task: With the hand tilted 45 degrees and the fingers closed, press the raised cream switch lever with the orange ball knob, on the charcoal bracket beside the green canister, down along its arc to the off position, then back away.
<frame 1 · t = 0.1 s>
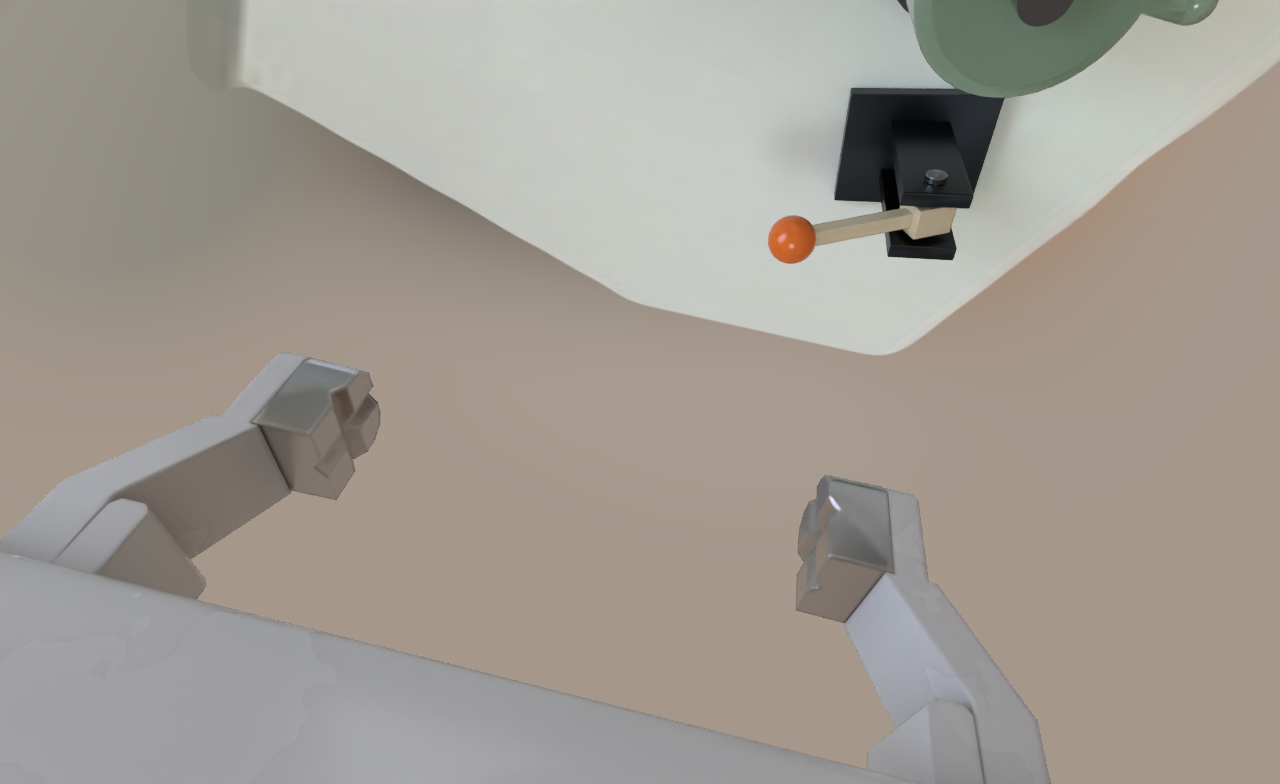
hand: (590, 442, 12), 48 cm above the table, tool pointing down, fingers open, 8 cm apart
switch lever: (858, 227, 45), point 13 cm above the table, hinge at 25.0°
switch bracket: (911, 145, 53), on the table
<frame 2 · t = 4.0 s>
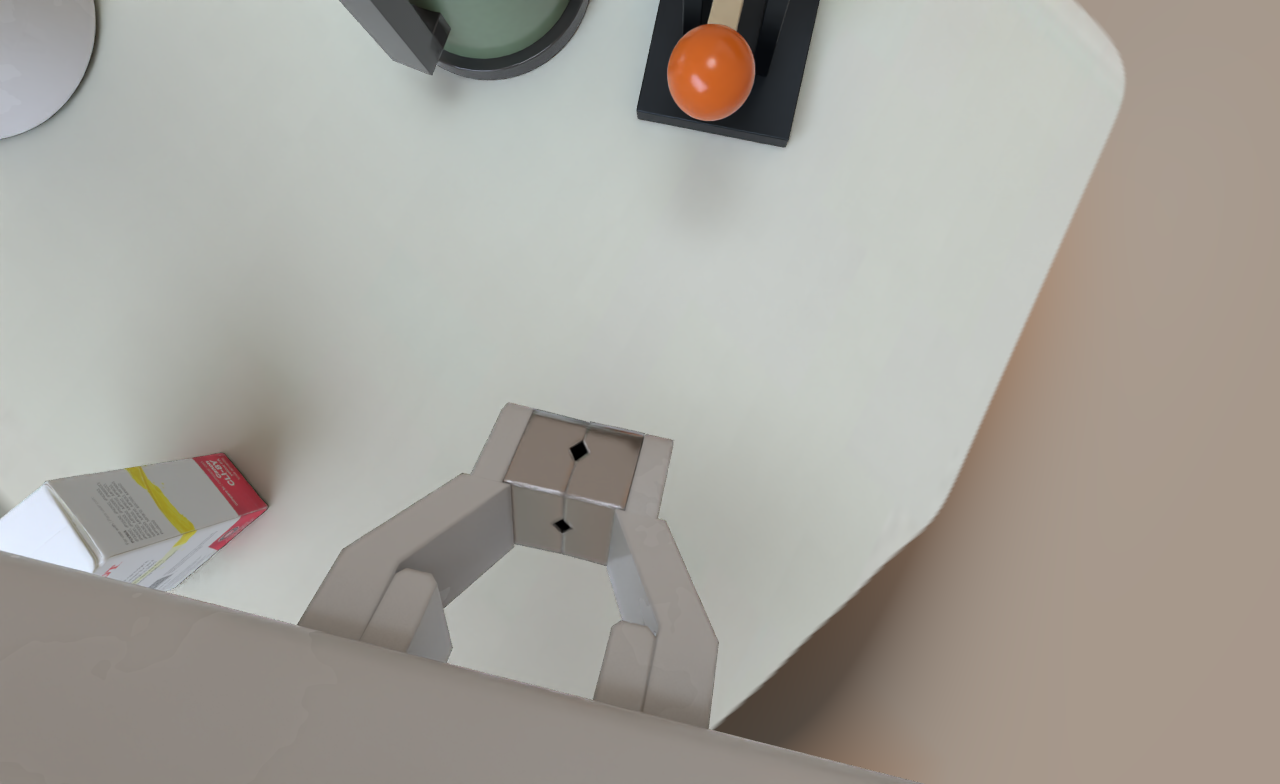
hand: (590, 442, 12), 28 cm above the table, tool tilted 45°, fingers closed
ink box: (200, 518, 41), on the table
switch bracket: (730, 41, 39), on the table
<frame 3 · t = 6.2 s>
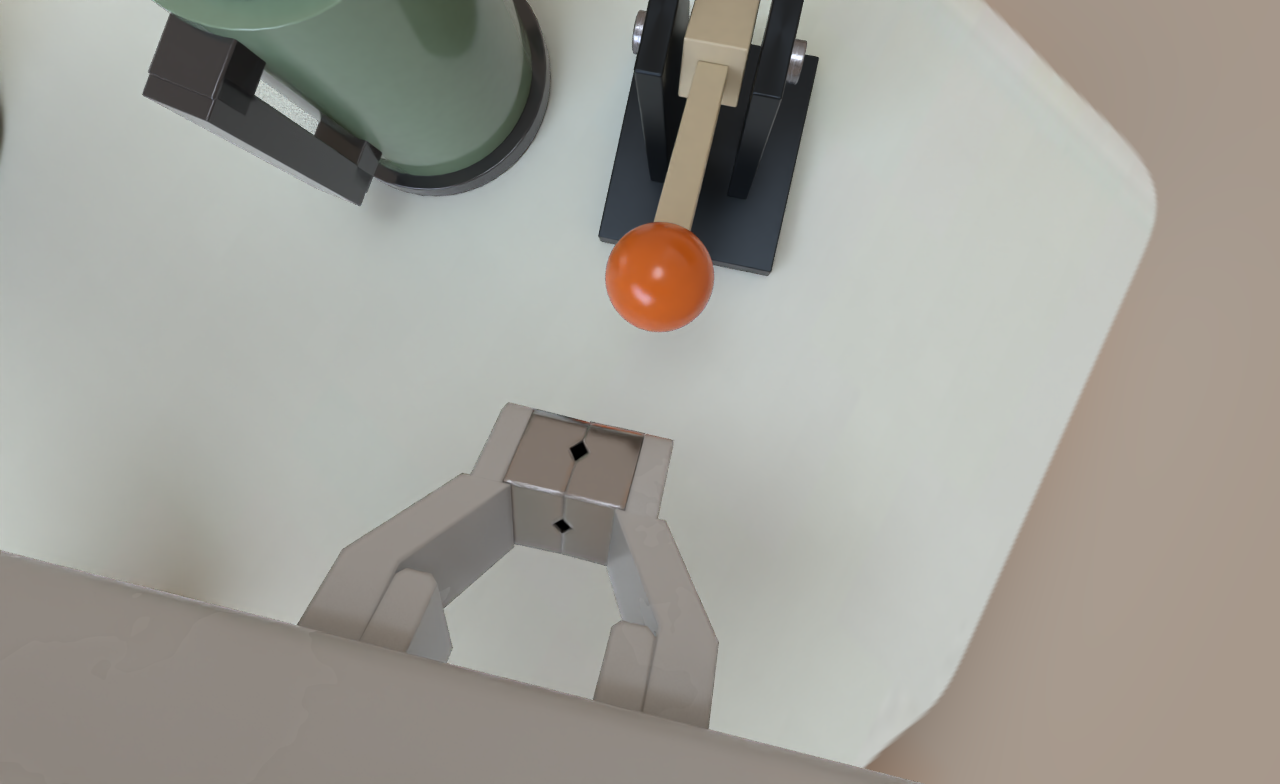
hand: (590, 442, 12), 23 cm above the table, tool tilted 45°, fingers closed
switch lever: (691, 154, 21), point 13 cm above the table, hinge at 25.0°
green canister: (436, 80, 35), on the table
switch bracket: (706, 155, 34), on the table
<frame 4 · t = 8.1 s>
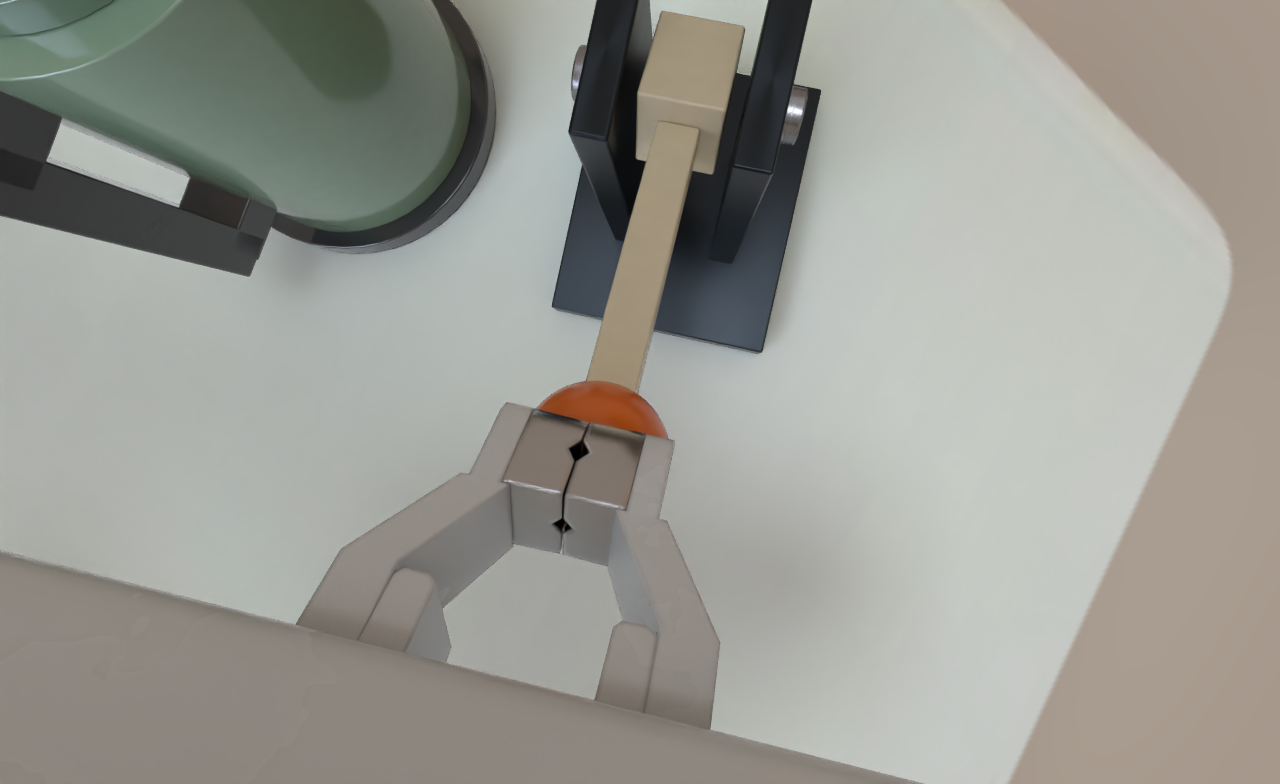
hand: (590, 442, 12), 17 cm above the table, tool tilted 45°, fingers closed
switch lever: (645, 260, 15), point 13 cm above the table, hinge at 21.0°, touching gripper
green canister: (358, 113, 29), on the table
switch bracket: (684, 207, 28), on the table
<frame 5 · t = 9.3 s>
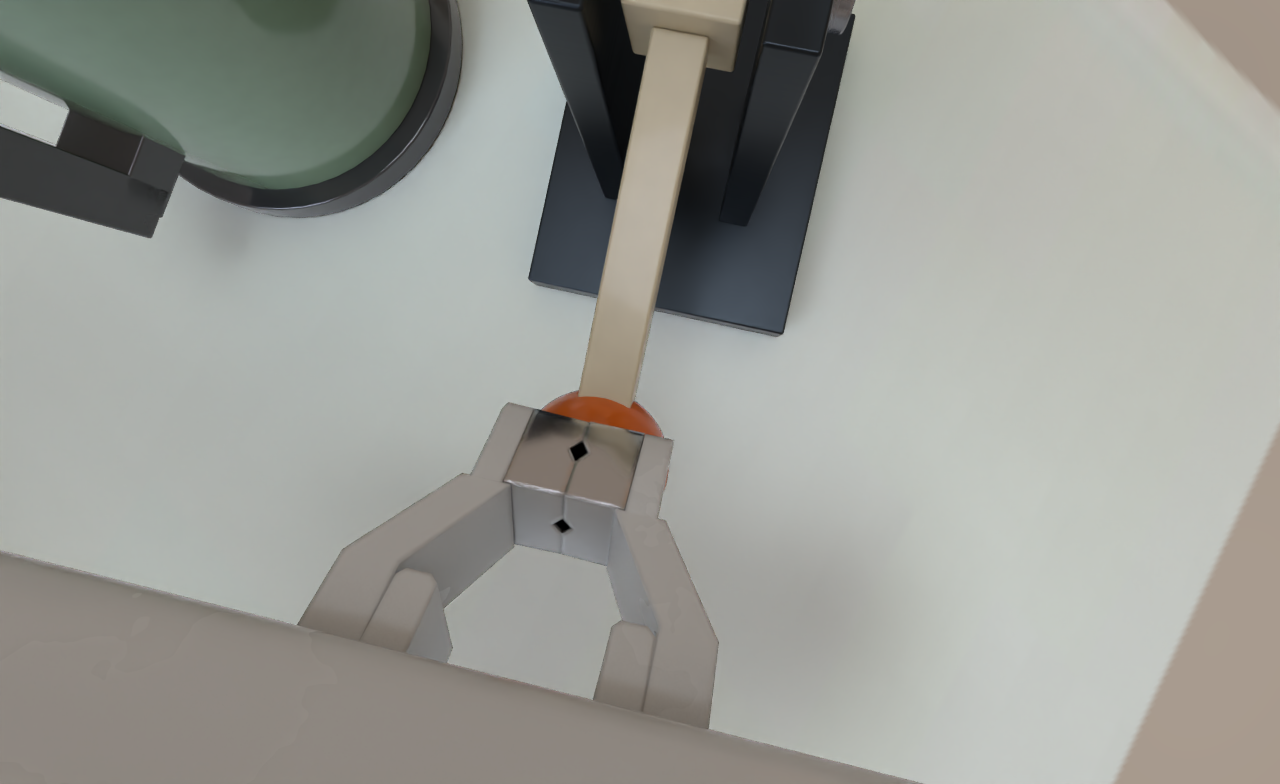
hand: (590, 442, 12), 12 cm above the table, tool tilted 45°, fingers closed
switch lever: (641, 232, 13), point 10 cm above the table, hinge at -6.7°, touching gripper
green canister: (298, 50, 24), on the table
switch bracket: (688, 160, 23), on the table
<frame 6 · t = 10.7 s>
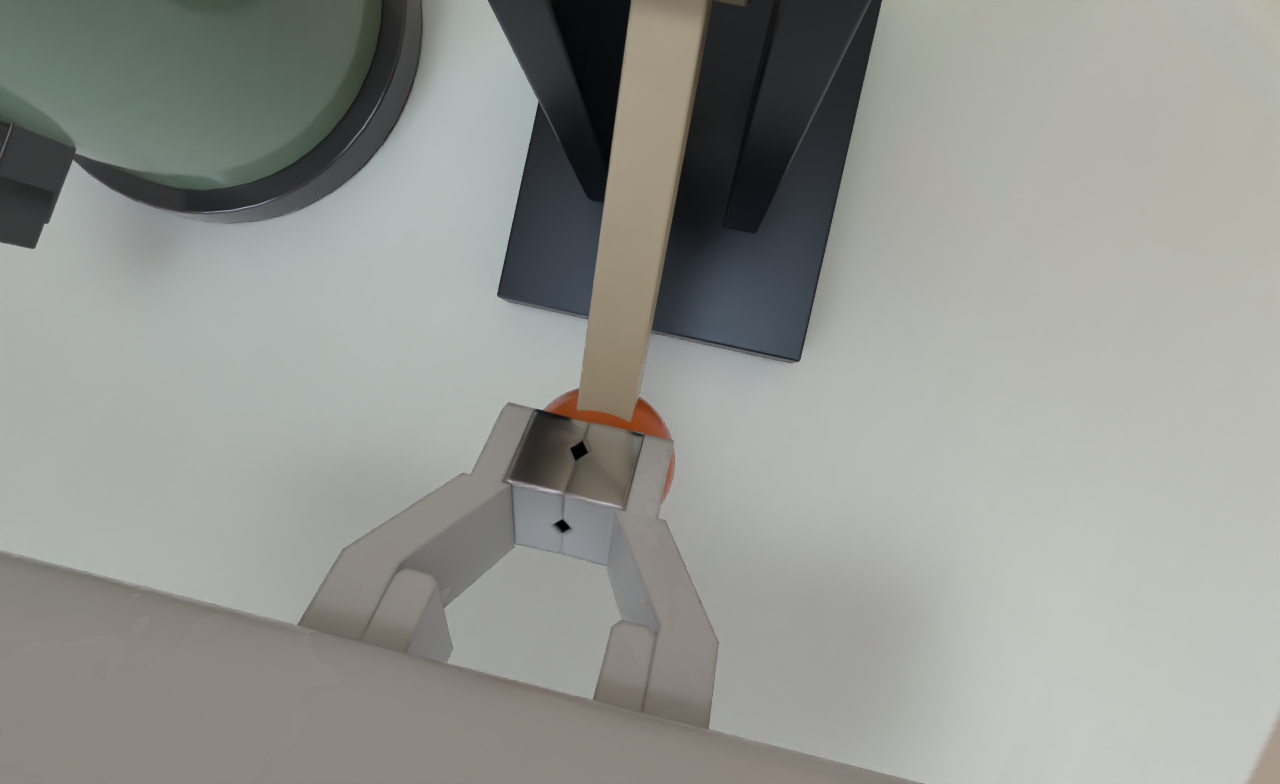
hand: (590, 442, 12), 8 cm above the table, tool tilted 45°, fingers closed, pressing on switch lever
switch lever: (635, 236, 11), point 9 cm above the table, hinge at -28.4°, touching gripper
green canister: (232, 28, 21), on the table
switch bracket: (687, 155, 20), on the table
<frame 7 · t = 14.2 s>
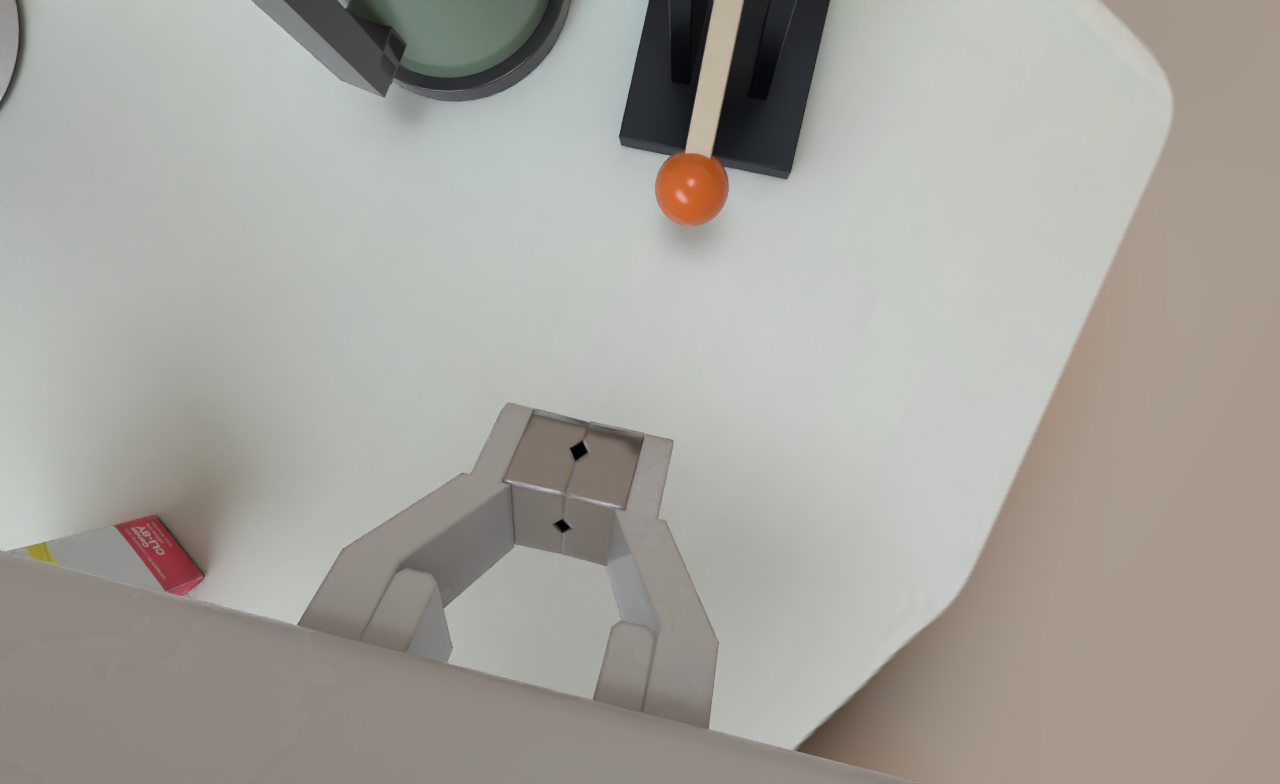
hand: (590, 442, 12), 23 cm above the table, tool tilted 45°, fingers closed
switch lever: (716, 64, 26), point 9 cm above the table, hinge at -28.4°
ink box: (129, 588, 37), on the table
switch bracket: (726, 59, 34), on the table
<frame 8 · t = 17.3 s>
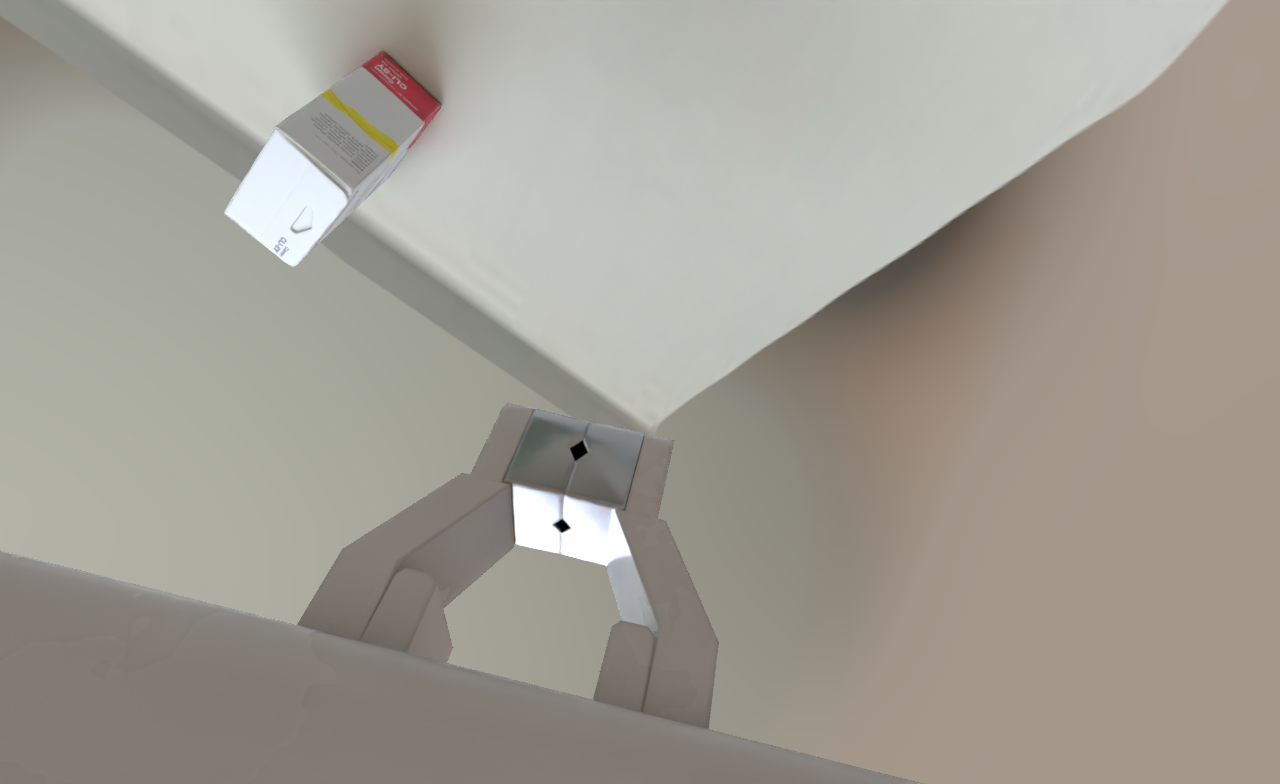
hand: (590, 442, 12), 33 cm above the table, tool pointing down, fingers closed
ink box: (384, 118, 45), on the table
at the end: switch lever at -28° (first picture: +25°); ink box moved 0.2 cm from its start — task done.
